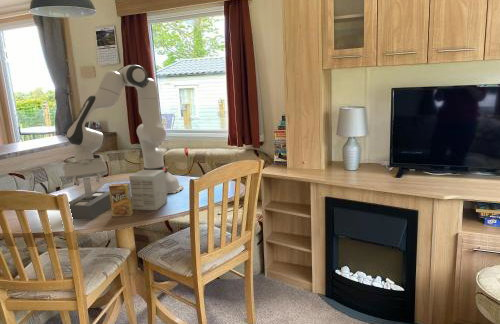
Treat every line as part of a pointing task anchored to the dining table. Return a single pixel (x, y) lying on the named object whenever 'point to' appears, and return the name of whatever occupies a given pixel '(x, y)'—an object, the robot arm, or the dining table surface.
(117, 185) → the candy box
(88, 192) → the steel stylus
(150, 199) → the supplement box
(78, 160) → the robot arm
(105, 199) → the board
